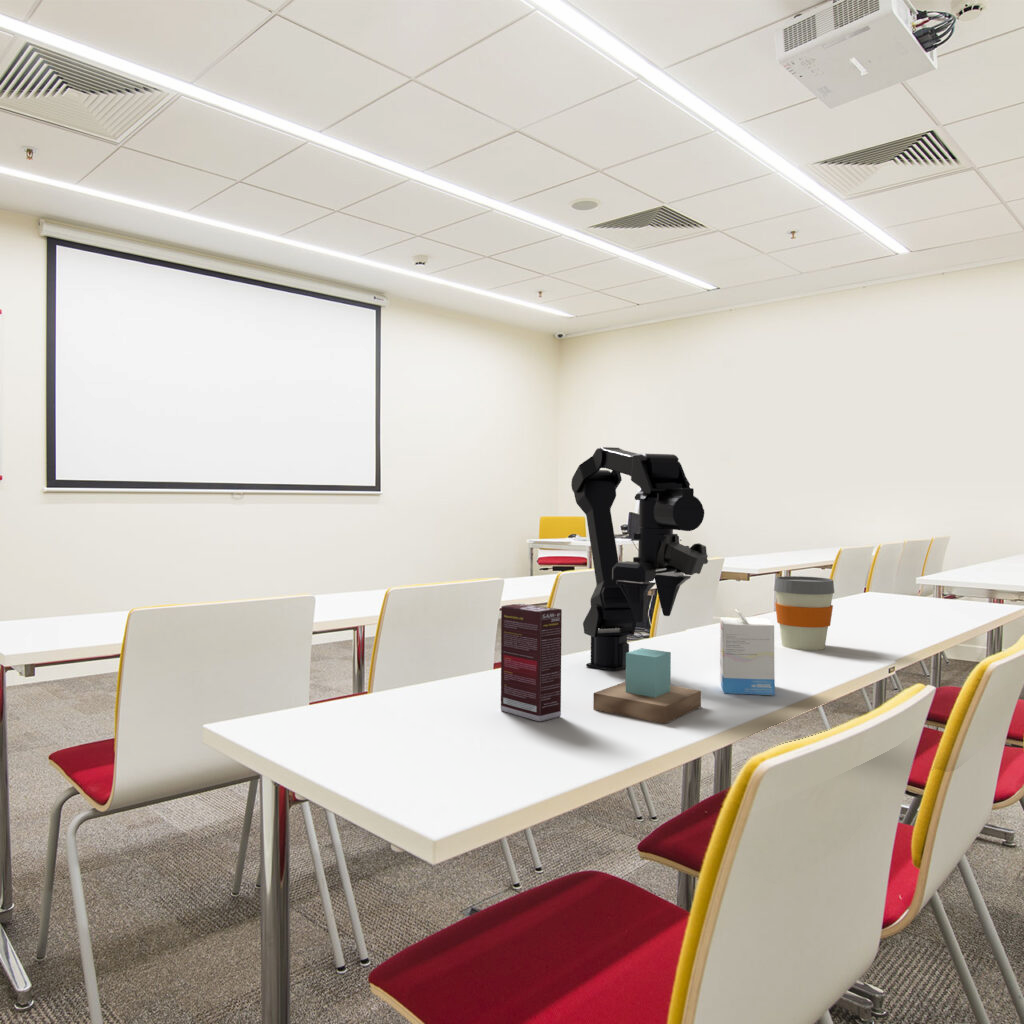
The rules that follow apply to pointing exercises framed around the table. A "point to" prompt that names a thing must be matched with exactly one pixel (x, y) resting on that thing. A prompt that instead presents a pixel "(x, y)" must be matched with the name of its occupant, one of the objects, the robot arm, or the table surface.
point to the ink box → (747, 655)
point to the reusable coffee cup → (804, 610)
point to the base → (648, 703)
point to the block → (648, 672)
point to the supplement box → (531, 661)
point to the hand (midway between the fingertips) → (653, 619)
